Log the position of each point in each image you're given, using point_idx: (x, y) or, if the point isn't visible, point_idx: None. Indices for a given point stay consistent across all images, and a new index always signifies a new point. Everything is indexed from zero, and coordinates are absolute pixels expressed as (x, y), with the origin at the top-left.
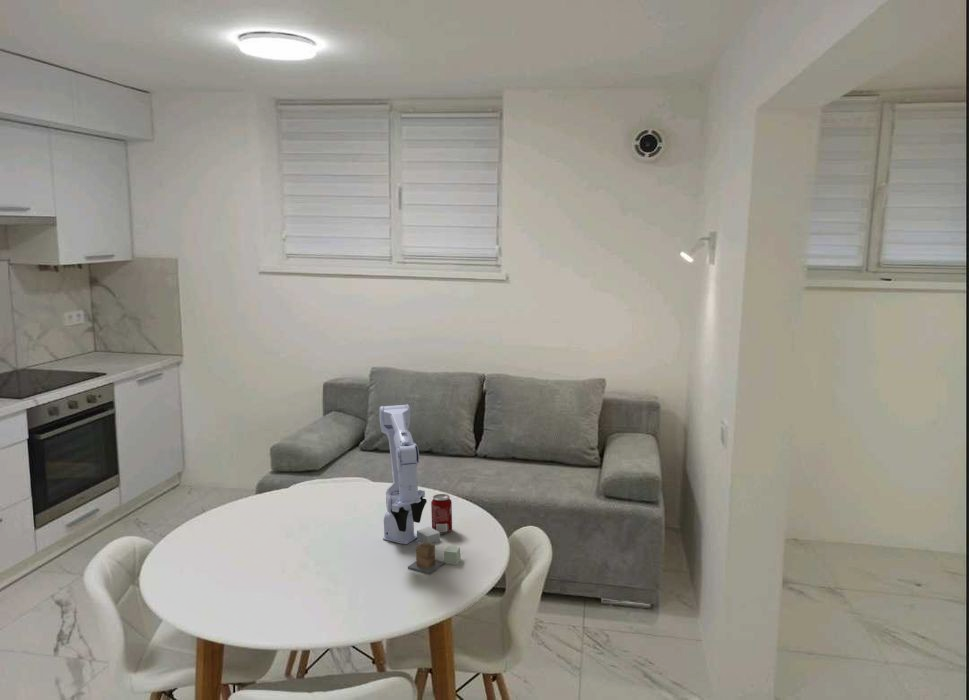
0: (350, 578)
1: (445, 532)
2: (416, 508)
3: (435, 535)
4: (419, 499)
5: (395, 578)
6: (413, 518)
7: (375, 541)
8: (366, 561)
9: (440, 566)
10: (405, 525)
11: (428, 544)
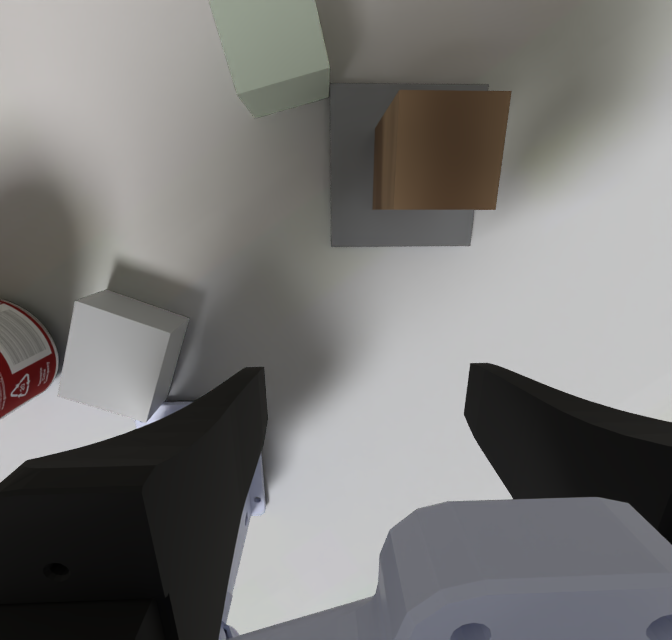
0: (629, 403)
1: (20, 307)
2: (223, 492)
3: (115, 310)
4: (498, 622)
5: (578, 236)
6: (261, 437)
7: (296, 518)
8: (471, 442)
9: (377, 86)
10: (519, 380)
11: (418, 144)
